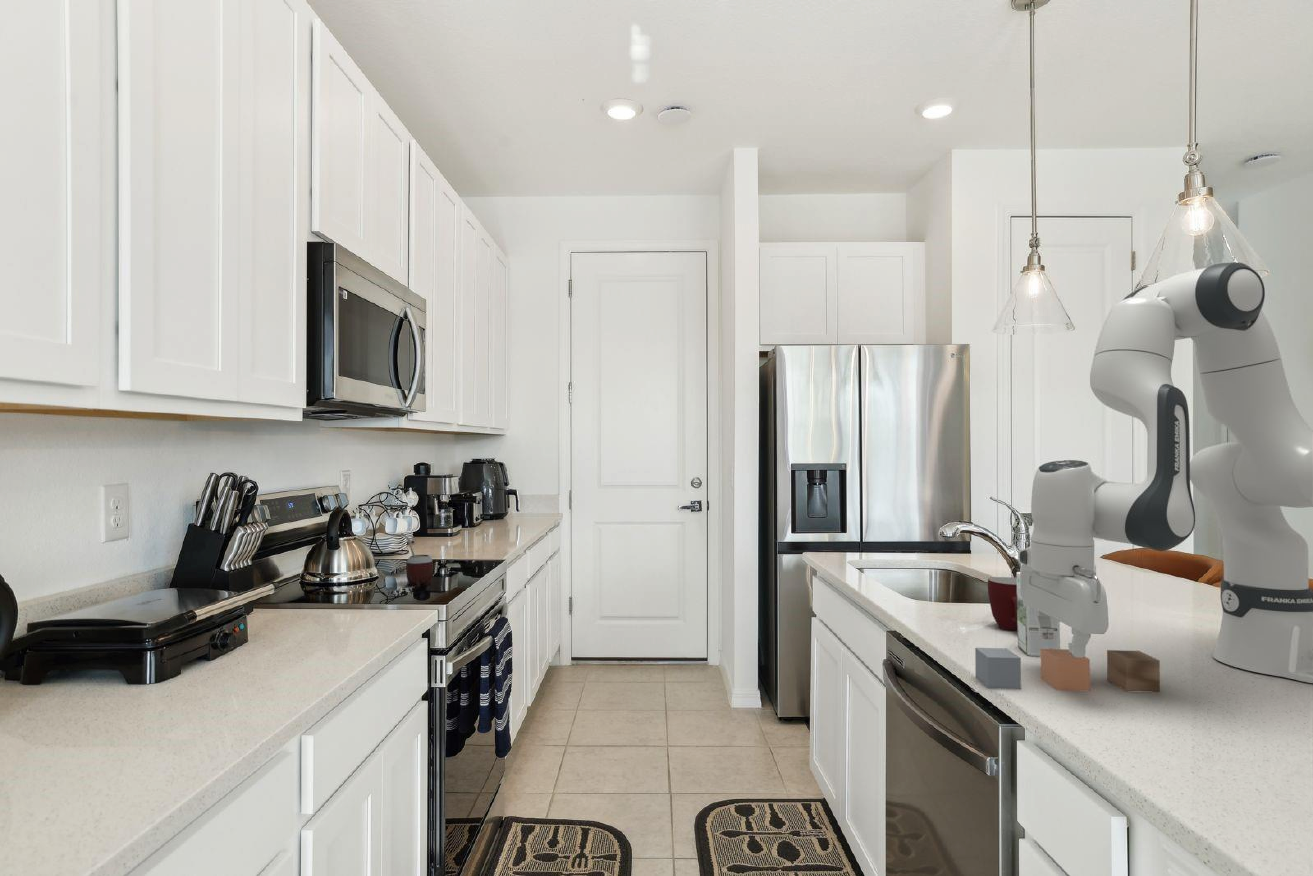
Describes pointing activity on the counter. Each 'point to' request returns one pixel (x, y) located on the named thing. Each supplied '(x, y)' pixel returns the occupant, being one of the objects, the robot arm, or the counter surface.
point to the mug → (1004, 601)
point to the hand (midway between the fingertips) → (1060, 646)
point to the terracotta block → (1065, 670)
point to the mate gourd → (418, 568)
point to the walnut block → (1133, 670)
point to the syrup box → (1033, 628)
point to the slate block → (998, 668)
